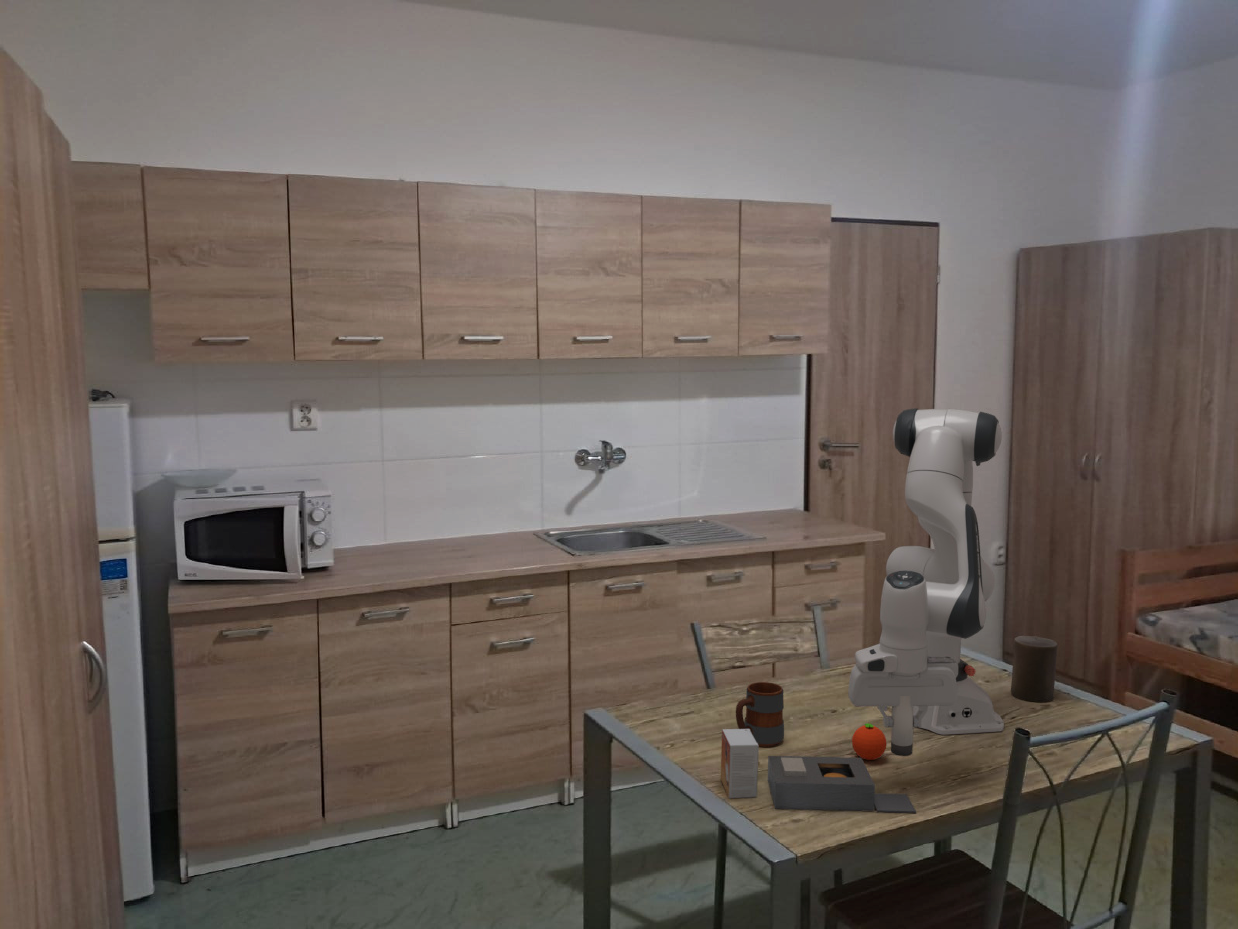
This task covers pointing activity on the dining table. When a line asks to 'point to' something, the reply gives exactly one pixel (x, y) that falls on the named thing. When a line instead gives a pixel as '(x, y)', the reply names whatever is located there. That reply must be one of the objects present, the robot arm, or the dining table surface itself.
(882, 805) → the mat
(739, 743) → the small box
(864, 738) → the clementine
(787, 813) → the dining table surface
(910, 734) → the white cylinder
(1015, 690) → the pillar candle
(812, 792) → the panel
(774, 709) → the mug
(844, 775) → the orange rounded piece
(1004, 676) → the dining table surface
